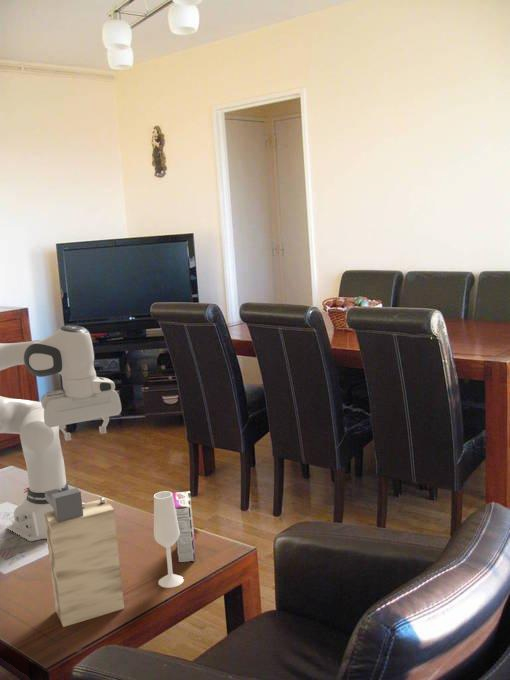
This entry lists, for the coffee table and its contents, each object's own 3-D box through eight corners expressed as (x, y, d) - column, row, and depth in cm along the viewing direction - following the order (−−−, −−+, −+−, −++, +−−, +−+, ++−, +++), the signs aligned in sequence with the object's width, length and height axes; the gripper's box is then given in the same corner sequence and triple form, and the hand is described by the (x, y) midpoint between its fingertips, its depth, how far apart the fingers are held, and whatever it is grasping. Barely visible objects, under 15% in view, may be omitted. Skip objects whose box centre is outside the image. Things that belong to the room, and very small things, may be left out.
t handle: (39, 500, 185) (36, 478, 184) (63, 494, 188) (60, 472, 187) (58, 522, 172) (55, 498, 171) (83, 515, 175) (80, 491, 174)
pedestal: (55, 611, 183) (43, 508, 178) (115, 594, 189) (104, 493, 184) (63, 627, 176) (50, 520, 171) (124, 608, 182) (113, 504, 177)
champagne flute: (174, 589, 190) (166, 501, 185) (153, 584, 193) (144, 497, 188) (188, 577, 195) (181, 491, 191) (168, 572, 199) (160, 488, 194)
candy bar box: (177, 545, 214) (173, 491, 211) (195, 543, 214) (190, 490, 211) (177, 563, 203) (172, 507, 200) (195, 562, 203) (190, 506, 200)
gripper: (42, 395, 189) (48, 447, 191) (120, 382, 197) (125, 432, 200) (37, 390, 194) (44, 441, 197) (113, 378, 203) (118, 426, 206)
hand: (85, 436), depth 199 cm, fingers open, 8 cm apart
